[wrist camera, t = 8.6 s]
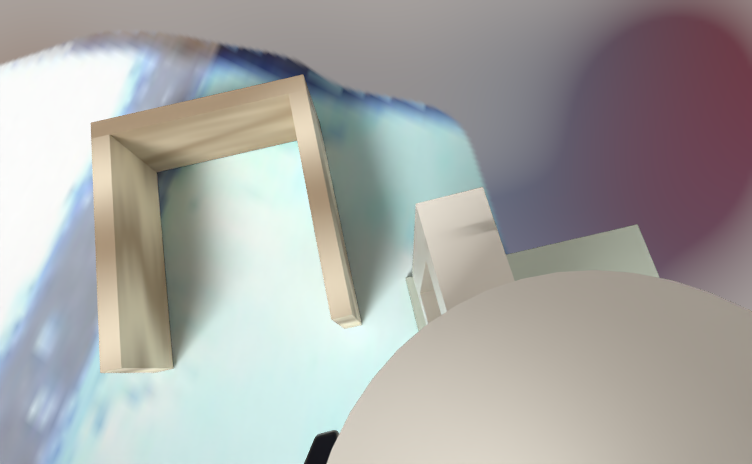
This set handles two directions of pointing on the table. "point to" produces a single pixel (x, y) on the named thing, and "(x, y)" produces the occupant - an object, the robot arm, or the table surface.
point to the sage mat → (573, 259)
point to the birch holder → (142, 210)
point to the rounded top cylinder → (551, 363)
